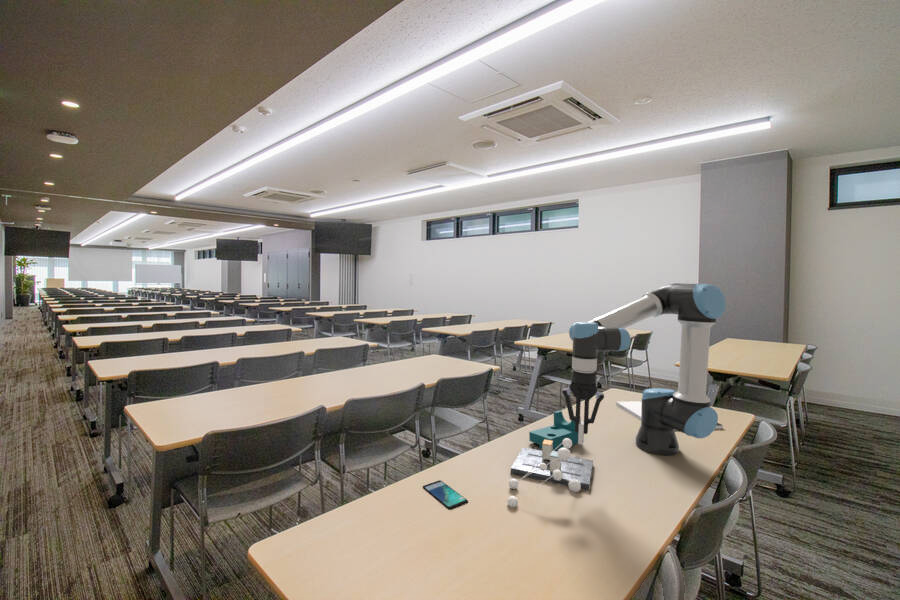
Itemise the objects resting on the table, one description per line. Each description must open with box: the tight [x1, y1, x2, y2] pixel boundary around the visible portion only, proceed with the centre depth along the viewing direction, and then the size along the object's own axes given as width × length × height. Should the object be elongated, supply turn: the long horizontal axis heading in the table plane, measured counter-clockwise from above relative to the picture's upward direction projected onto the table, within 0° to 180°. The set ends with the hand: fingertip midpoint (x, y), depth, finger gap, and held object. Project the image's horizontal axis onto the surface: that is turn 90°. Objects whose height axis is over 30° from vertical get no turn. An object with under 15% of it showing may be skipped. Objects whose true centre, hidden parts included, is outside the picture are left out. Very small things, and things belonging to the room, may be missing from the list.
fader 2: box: [550, 450, 561, 472], centre depth 131 cm, size 3×4×5 cm
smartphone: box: [422, 479, 469, 510], centre depth 119 cm, size 7×1×15 cm
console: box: [510, 446, 594, 491], centre depth 136 cm, size 25×18×2 cm
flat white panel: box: [615, 400, 724, 431], centre depth 192 cm, size 35×2×31 cm
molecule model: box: [507, 438, 582, 508], centre depth 119 cm, size 14×25×18 cm, turn 98°
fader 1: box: [541, 439, 553, 460], centre depth 140 cm, size 3×4×5 cm
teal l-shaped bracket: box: [528, 410, 582, 452], centre depth 158 cm, size 18×11×10 cm, turn 124°
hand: (580, 442), depth 127 cm, fingers closed
